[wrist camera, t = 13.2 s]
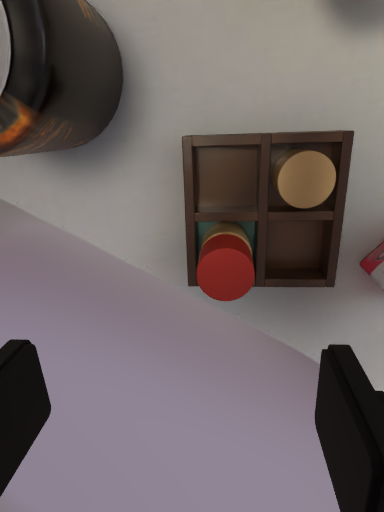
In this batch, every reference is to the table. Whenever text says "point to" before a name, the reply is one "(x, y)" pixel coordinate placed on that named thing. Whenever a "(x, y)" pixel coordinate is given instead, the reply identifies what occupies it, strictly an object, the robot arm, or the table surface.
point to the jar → (55, 75)
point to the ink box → (375, 265)
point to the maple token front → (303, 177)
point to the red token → (225, 268)
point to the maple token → (226, 231)
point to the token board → (265, 204)
